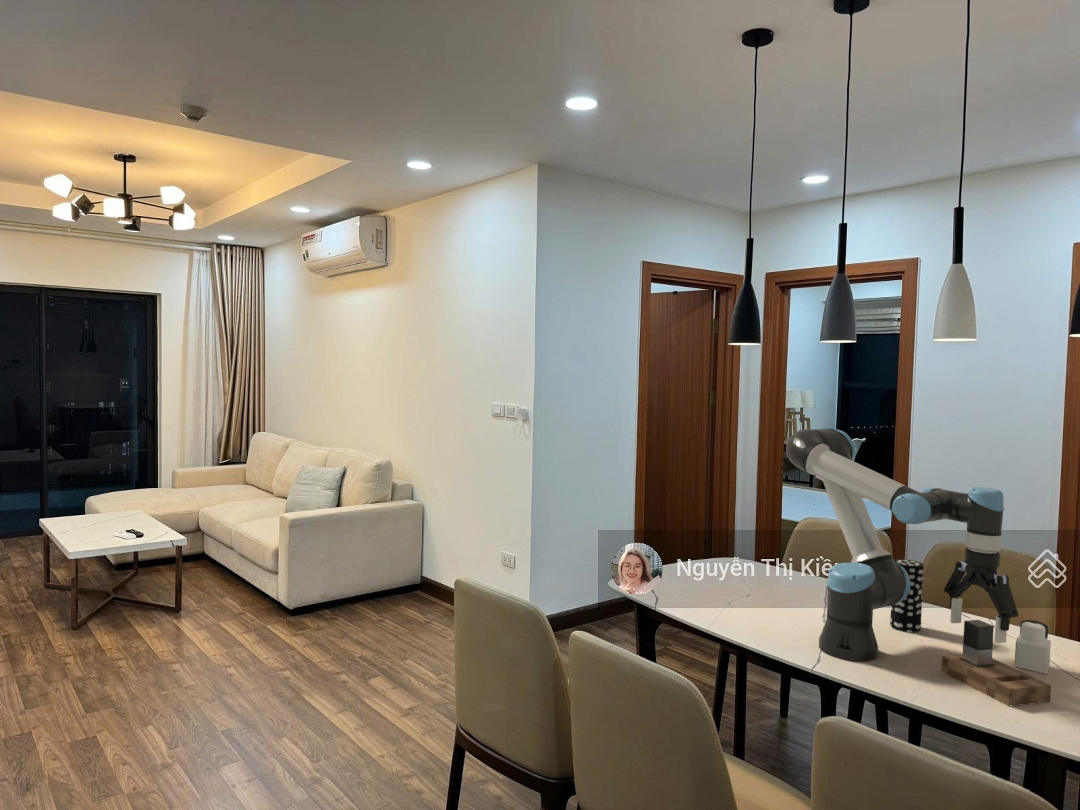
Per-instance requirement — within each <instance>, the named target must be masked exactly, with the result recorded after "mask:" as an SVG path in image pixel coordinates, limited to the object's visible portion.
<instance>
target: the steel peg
mask: <svg viewBox="0 0 1080 810" xmlns="http://www.w3.org/2000/svg"><path fill="white" fill-rule="evenodd" d="M994 626H995V625H994V624H993V625H992V624H991V623H988V622H985V621H984V620H983V621H982V620H981V619H973V620H972V619H970V620H964V621H963V640H962V641H963V642H962V643H963V644H962V654H963V658H962V661H964V662H966V663H969V664H971V665H973V666H975V667H977V668H979V667H990V666H992V659H993V649H994V647H993V646H994V632H995V631H994V629H995V628H994Z"/></svg>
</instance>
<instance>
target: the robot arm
mask: <svg viewBox="0 0 1080 810" xmlns="http://www.w3.org/2000/svg"><path fill="white" fill-rule="evenodd" d="M785 447H786V450H785V451H786V452H785V453H786V456H787V458H788V460H789V461H790V463H791V464H793V466H795V468H797V469H800V470H801V471H804V472H805V473H807V474H810V475H814V476H815V478H817V479H818V480H820V481H822V482H823V485H824V488H825V490H826V493H827V495H828V498H829V500H830V503H831V505H832V508H833V511H834V513H835V515H836V518H837V520H838V524H839V525H840V528H841V529H840V530H841V531H842V534H843V536H844V539H845V542H846V543H847V547H848V549H849V552H850V554H851V556H852V559H851V562H839V563H836V564H834V565H833V566H831V567H830V569H829V571H828V578H827V580H826V581H827V582H826V583H827V597H826V598H827V599H826V600H827V601H826V603H827V604H826V620H825V622H824V625H823V627H822V631H821V633H820V635H819V638H818V648H819V649H820V651H823V652H824V653H826V654H828V655H830V656H833V657H836V658H839V659H843V660H849V661H859V662H861V661H863V662H864V661H867V662H868V661H872V660H875V659H877V658H878V656H879V645H878V642H877V639H876V635H875V632H874V628H873V616H874V611H875V610H877V609H881V608H886V607H891V606H892V605H895V604H897V603H899V602H901V601H903V600H904V599H905V598H906V597H907V595H908V593H909V591H910V578H909V575H908V573H907V571H906V570H905V569H904V568H903V567H902V566H900V565H899V564H897V563H895V562H894V560H895V559H894V558H893V555H892V553H891V552H889V551H887V550H885V549H884V548H883V546H882V543H881V541H880V538H879V536H878V533H877V531H876V529H875V526H874V524H873V521H872V520H871V516H870V515H869V512H868V509H867V507H866V504H865V502H864V500H863V498H865V499H867V500H869V501H871V502H873V503H874V504H877V505H879V506H880V507H882V508H885V509H886V510H889V511H891V512H892V513H893V515H894V516H895V518H896V519H897V520H898V521H899V522H901V523H903V524H906V525H919V524H923V523H929V522H934V521H935V522H937V521H941V520H948V521H953V522H954V521H955V522H960V523H966V536H965V546H966V548H965V550H964V561H956V562H955V566H954V570H953V571H952V574H951V575H950V577H949V579H948V580H947V583H946V585H945V586H944V588H943V592H944V593H946V594H948V596H949V608H950V618H949V619H950V624H960V623H962V615H963V601H964V599H963V597H962V596H963V595H962V594H964V593H965V592H966V591H967V590H968V589H969V588H970V587H971V586H972V585H973V586H978V588H981V589H984V591H985V592H987V594H988V596H989V598H990V600H991V602H992V603H993V605H994V608H995V610H996V611H997V613H998V615H996V616H995V625H994V626H995V628H994V629H995V631H994V639H993V643H995V644H1004V643H1007V633H1008V631H1009V630H1010V621H1011V618H1018V617H1019V613H1018V609H1017V605H1016V603H1015V600H1014V597H1013V593H1012V591H1011V587H1010V579H1009V576H1008V575H1006V574H1005V575H1002V574H1001V575H1000V574H998V571H997V570H998V568H999V567H1000V563H1001V553H1000V552H999V551H1001V547H1002V546H1001V544H1002V534H1003V533H1002V528H1003V518H1004V517H1003V516H1004V511H1005V507H1004V506H1005V505H1004V498H1005V497H1004V493H1003V492H1002V490H999V489H996V488H992V487H991V488H990V487H981V486H973V487H970V489H969V492H968V493H965V492H958V491H954V490H948V489H943V488H939V487H937V488H933V487H926V488H924V489H923V490H922V491H917V490H916V489H913V488H911V487H909V486H907V485H905V484H903V483H900V482H898V481H896V480H895V479H891V478H889V477H888V476H886V475H884V474H882V473H879V472H877V471H875V470H873V469H870V468H868V467H866V466H864V465H862V464H860V463H858V462H855V461H854V460H853V459H854V456H855V455H854V454H855V453H856V450H855V444H854V441H853V439H852V438H851V437H850V436H849V434H848V433H847V432H845V431H843V430H840V429H837V428H831V427H830V428H829V427H827V428H818V429H817V428H816V429H815V428H813V429H812V428H811V429H808V428H806V429H801V430H798V431H796V432H794V433H793V434H792V435H791V436H790V437H789V439H788V440H787V442H786V445H785ZM965 574H966V575H965Z"/></svg>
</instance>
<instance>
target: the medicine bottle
mask: <svg viewBox="0 0 1080 810" xmlns="http://www.w3.org/2000/svg"><path fill="white" fill-rule="evenodd" d="M1019 627H1020V628H1019V629H1020V630H1019V634H1018V636H1017V638H1016V641H1015V651H1014V654H1015V655H1014V667H1015V668H1018V667H1019V668H1018V669H1022V668H1023V670H1026V669H1028V670H1027V671H1031V670H1032V671H1031V672H1035V671H1036V672H1037V673H1039V672H1040V674H1043V673H1044V675H1047V674H1048V672H1049V670H1050V665H1051V664H1050V663H1051V648H1052V647H1051V646H1052V642H1051V640H1050V639H1048V636H1049V634H1048V633H1049V627H1048V625H1047V624H1045V623H1044V622H1041V621H1039V620H1034V619H1033V620H1031V619H1023V620H1021V621H1020V626H1019Z"/></svg>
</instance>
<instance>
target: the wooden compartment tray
mask: <svg viewBox="0 0 1080 810" xmlns="http://www.w3.org/2000/svg"><path fill="white" fill-rule="evenodd" d="M962 658H963V653H961V654H953V655H942V656H941V669H940V672H941V671H942V673H943V672H944V674H945V673H946V674H945V675H947V676H950V677H952V678H953V679H954V680H955V679H956V680H957V681H959V682H960V683H963V684H964V685H967V686H969V687H970V686H971V687H970V688H972V687H973V688H972V689H974V688H975V690H976V689H977V690H976V691H978V690H979V692H980V691H981V692H980V693H982V692H983V693H982V694H984V693H985V694H984V695H986V694H987V695H986V696H988V695H989V696H988V697H990V696H991V698H992V697H993V698H992V699H994V698H995V699H994V700H996V699H997V700H998V702H999V701H1000V703H1001V702H1002V703H1001V704H1003V703H1004V704H1003V705H1005V704H1006V706H1007V705H1008V706H1007V707H1011V706H1010V705H1016V706H1021V705H1020V704H1025V705H1031V704H1030V703H1035V704H1042V703H1041V702H1044V703H1050V702H1051V691H1052V689H1051V688H1052V685H1051V684H1049V683H1047V682H1045V681H1044V680H1043V681H1042V680H1040V679H1038V678H1036V677H1034V676H1032V675H1029V674H1027V673H1025V672H1023V671H1021V670H1018V669H1016V668H1014V667H1012V666H1009V665H1007V664H1006V663H1003V662H1001V661H999V660H996V659H994V658H992V666H990V667H979V668H977V667H975V666H973V665H971V664H969V663H966V662H964V661H962ZM997 700H996V701H997ZM1049 701H1050V702H1049ZM1039 702H1040V703H1039Z"/></svg>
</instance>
